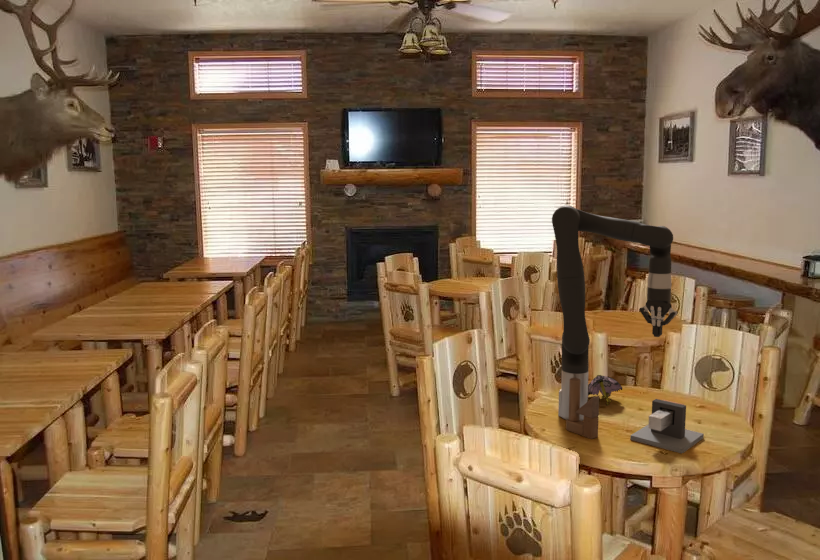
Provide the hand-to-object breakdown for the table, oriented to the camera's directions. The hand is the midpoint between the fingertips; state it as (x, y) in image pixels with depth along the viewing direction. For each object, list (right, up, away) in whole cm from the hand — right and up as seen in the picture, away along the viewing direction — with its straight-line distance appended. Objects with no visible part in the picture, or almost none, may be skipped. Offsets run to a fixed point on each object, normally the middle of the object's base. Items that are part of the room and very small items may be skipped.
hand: (657, 336), depth 231 cm
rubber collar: (0, -31, -9) cm, 32 cm away
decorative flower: (-11, -27, +29) cm, 41 cm away
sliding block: (-2, -29, -11) cm, 31 cm away
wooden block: (-26, -32, -3) cm, 42 cm away
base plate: (0, -33, -9) cm, 34 cm away
